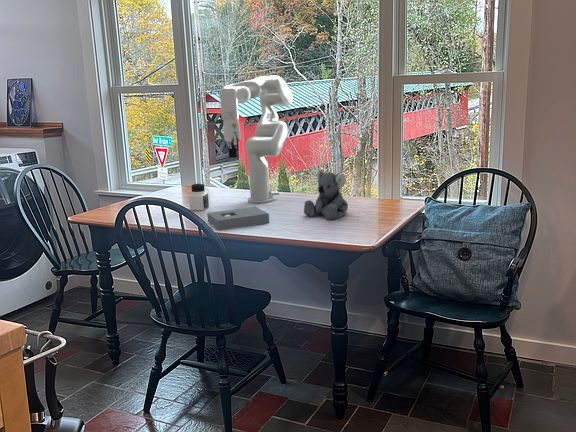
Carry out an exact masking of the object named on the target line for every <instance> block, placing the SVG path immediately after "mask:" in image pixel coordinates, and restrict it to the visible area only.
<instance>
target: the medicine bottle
mask: <svg viewBox="0 0 576 432" xmlns="http://www.w3.org/2000/svg"><path fill="white" fill-rule="evenodd" d="M205 189H206V188H205V184H204V183H201V182H200V183H199V182H198V183H193V184H191V194H190V195H189V196H188V199H189V200H188V201H189V202H188V203H189V210H190V211H205V210H207V209H208V208H209V207H210V201H209V193H208V192H206V191H205Z"/></svg>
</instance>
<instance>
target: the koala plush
mask: <svg viewBox="0 0 576 432" xmlns="http://www.w3.org/2000/svg"><path fill="white" fill-rule="evenodd" d="M316 178H317V184H318V185H317V191H318V193H319V195H318V196H317V199H315V200H316V201H315V202H313V201H312V200H310V199H309V200H305V201H304V206H303V213H304V215H306V216H307V217H320V216H324V218H325V219H326V220H327V221H333V220H337V219H338V218H340V217H344V216H345V214H346V213H347V211H348V208H349V205H348V202H347V200H345V199H344V197H343V195H342V193H341V192H340V190H341V188H343V187H344V185H346V183H347V178H346V174H344V173H342V172H338V173H336V174H335V173H333V172H331V171H327V172H324V171H322V170H319V169H317V171H316Z"/></svg>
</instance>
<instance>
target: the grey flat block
mask: <svg viewBox="0 0 576 432" xmlns="http://www.w3.org/2000/svg"><path fill="white" fill-rule="evenodd" d="M225 215H230V216H226V217H224V216H225ZM206 217H207V223H208V222H209V223H208V224H209V225H211V226H212V225H213V227H214V228H215V229H217V230H218V231H222V230H223V229H224V230H230V229H235V227H237V228H243V227H242V226H244V227H248V226H249V227H251V226H256V225H264V224H269V223H270V214H269V212H266V211H265V210H263V209H261V208H260V207H257V206H249V207H242V208H234V209H227V210H226V209H225V210H218V211H213V212H212V211H211V212H207V213H206ZM229 228H230V229H229Z"/></svg>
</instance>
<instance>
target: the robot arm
mask: <svg viewBox="0 0 576 432" xmlns="http://www.w3.org/2000/svg"><path fill="white" fill-rule="evenodd" d="M218 98H219V100H220V113H221V120H222V121H223V126H222V127H223V139H224V140H225V142H226V143H227V149H228V150H227V151H228V158H231V159H232V158H237V156H238V154H237V153H238V152H237V145H238V142H241V141H242V139H241V130H240V121H239V120H240V118H239V116H240V114H239V104H245V103H247V102H249V101H250V100H251V99H255V98H259V104H260V107H261V116H260V118H259V120H258V123H257V125H256V128H255V131H254V132H255V133H254V134H255V136H251V137H249V138H248V139H247V140H246V142H245V152H246V155H247V160H248V173H249V191H250V197H248V198H247V202H248V203H251V204H252V203H253V204H263V203H265V204H266V203H269V202H273V200H274V196H279V195H280V192H279V191H272V190H271V189H270V175H269V174H270V173H269V171H270V170H269V164H268V161H267V160H266V157H271V158H272V157H278V156H279V155H280V153H281V152H282V149H283V146H284V144H285V141H286V140H287V137H288V126H287V123H285V121H282V120H279V115H278V113H277V112H276V110H275V109H274V107H288V106H290V105H291V104H292V103H293V99H294V98H293V93H292V91H291V89H290V87H289V86H288V84H287V83H286V82H285V80H284V79H283V78H282V77H281V76H280V75H263V76H257V77H256V78H253V79H249V80H245V81H240V82H236V83H232V84H228V85H225V86H222V87H221V88H220V89H219V94H218Z"/></svg>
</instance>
